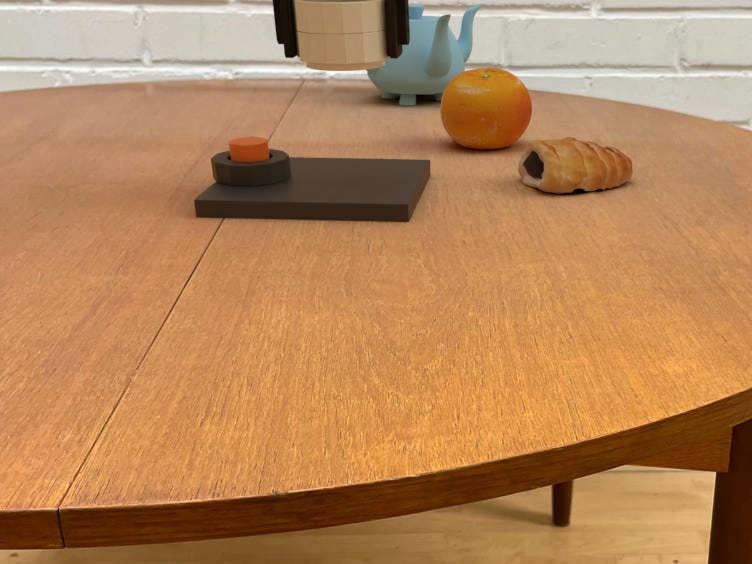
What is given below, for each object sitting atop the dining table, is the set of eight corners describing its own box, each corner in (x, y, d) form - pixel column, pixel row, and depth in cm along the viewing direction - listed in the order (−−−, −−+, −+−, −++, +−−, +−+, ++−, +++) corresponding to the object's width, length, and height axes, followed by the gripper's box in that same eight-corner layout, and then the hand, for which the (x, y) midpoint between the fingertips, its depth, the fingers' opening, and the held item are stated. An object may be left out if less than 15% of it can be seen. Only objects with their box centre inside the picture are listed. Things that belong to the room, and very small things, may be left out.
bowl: (289, 71, 70) (282, 2, 67) (310, 58, 76) (304, -7, 73) (383, 72, 69) (380, 2, 67) (397, 58, 75) (394, -6, 73)
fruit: (423, 116, 87) (466, 34, 86) (428, 133, 96) (467, 58, 95) (504, 163, 88) (548, 82, 87) (502, 176, 96) (542, 103, 95)
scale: (190, 218, 72) (184, 177, 71) (243, 172, 84) (238, 136, 82) (408, 223, 71) (407, 182, 70) (430, 176, 83) (429, 140, 82)
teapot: (450, 112, 108) (449, 12, 103) (341, 105, 111) (334, 8, 106) (483, 92, 119) (483, 0, 113) (382, 86, 122) (378, -3, 116)
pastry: (607, 170, 85) (610, 124, 83) (648, 188, 80) (653, 141, 78) (511, 180, 82) (512, 134, 80) (548, 201, 76) (550, 151, 74)
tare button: (226, 165, 75) (223, 144, 75) (237, 156, 78) (234, 136, 77) (264, 166, 75) (261, 145, 74) (274, 157, 78) (271, 137, 77)
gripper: (461, -236, 65) (464, 49, 75) (210, -232, 67) (244, 48, 76) (450, -250, 59) (455, 64, 68) (173, -246, 60) (215, 62, 69)
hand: (344, 53), depth 72 cm, fingers closed on bowl, 7 cm apart
